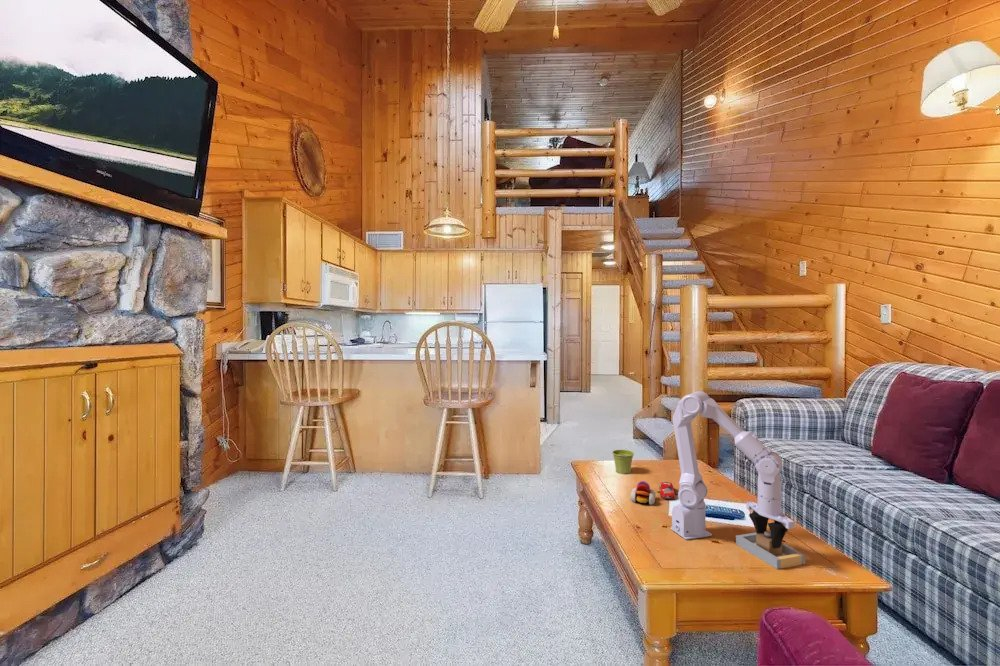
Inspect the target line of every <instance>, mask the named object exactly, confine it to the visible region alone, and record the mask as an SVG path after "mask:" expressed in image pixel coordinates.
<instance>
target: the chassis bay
mask: <svg viewBox="0 0 1000 666" xmlns="http://www.w3.org/2000/svg"><path fill="white" fill-rule="evenodd" d="M756 534H757V533H756V532H750V533H743V534H737V535H735V544H736V545H737V546H739V547H740V548H742V549H743V550H745V551H747V552H748V553H751V554H752V555H754V556H755V557H756V558H758V559H760V560H761V561H763V562H765V564H768V565H770V566H771V567H773V568H774V569H776V570H780V569H785V568H791V567H796V566H797V567H798V566H802V564H803V565H806V555H805V554H804V553H802V552H800V551H799V550H797V549H795V548H793V547H791V546H789V545H788V544H786V543H784V542H782V555H779V556H774V555H773V554H771V553H769V552H767V551H766V550H764V549H762V548H761V547H759V546H757V545H756Z"/></svg>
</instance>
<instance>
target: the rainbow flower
mask: <svg viewBox="0 0 1000 666" xmlns="http://www.w3.org/2000/svg"><path fill="white" fill-rule="evenodd" d="M630 500H631V501H632V502H633V503H637V502H638V503H641V504H646V503H648V505H649V506H651V505H654V504H655V500H656V492H655V490H654V489H652V488H651V486H650V484H649V483H648V482H646V481H645V480H641V481H639V482H638V483H637V485H636V487H633V488H632V489H631V492H630Z"/></svg>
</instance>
